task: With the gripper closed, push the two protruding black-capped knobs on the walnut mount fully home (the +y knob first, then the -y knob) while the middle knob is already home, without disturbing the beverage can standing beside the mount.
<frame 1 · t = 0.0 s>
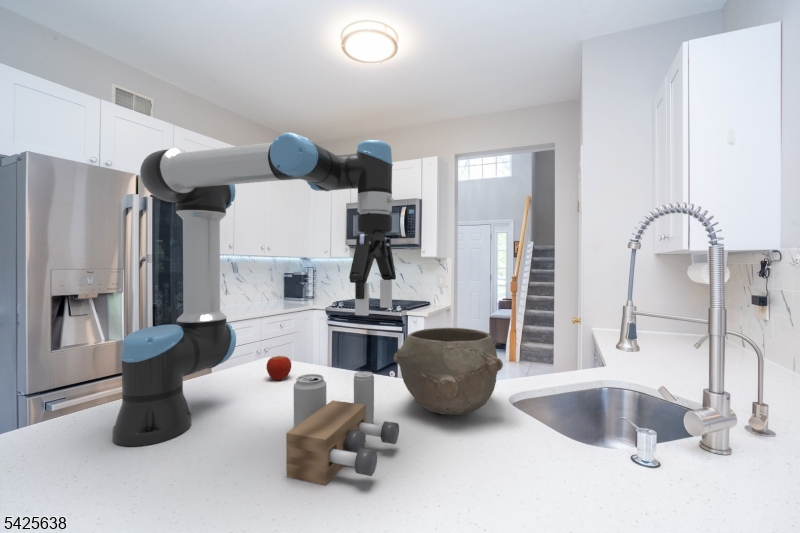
hand: (374, 311, 84), 28 cm above the countertop, fingers open, 13 cm apart
can: (310, 428, 89), on the countertop
bowl: (447, 409, 101), on the countertop
mount: (329, 457, 76), on the countertop
knob b: (335, 438, 75), point 4 cm above the countertop, slide at 0.0 cm
knob c: (371, 429, 79), point 4 cm above the countertop, slide at 5.0 cm
beverage can: (363, 425, 91), on the countertop
apple: (279, 379, 126), on the countertop
knob a: (344, 457, 68), point 4 cm above the countertop, slide at 5.0 cm
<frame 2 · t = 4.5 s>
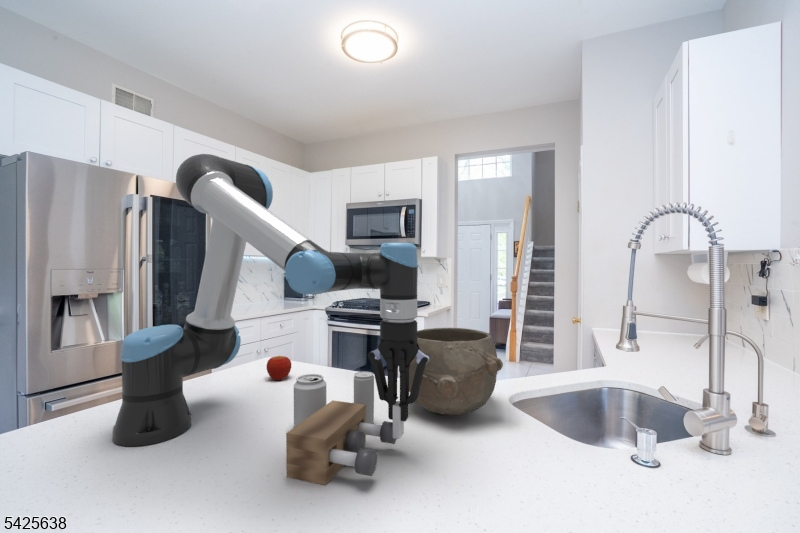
hand: (398, 435, 77), 4 cm above the countertop, fingers closed
knob c: (370, 429, 79), point 4 cm above the countertop, slide at 4.8 cm, touching gripper
everything else where it was.
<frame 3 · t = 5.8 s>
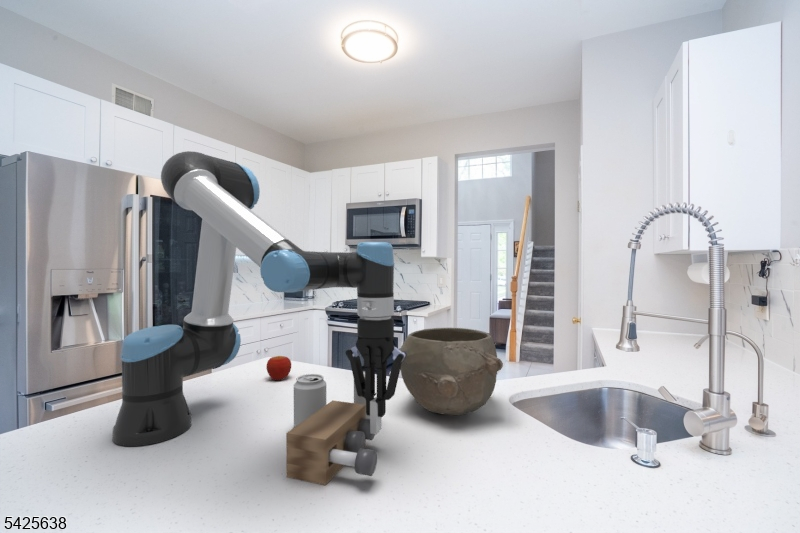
hand: (375, 430, 79), 4 cm above the countertop, fingers closed
knob c: (349, 426, 81), point 4 cm above the countertop, slide at -0.1 cm, touching gripper
everything else where it was.
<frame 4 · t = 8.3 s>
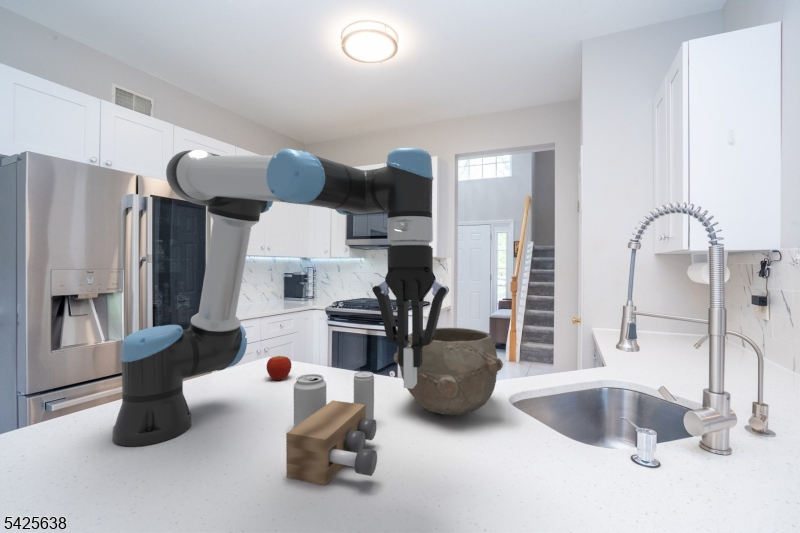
hand: (410, 385, 64), 18 cm above the countertop, fingers closed
knob c: (349, 426, 81), point 4 cm above the countertop, slide at -0.1 cm
everything else where it was.
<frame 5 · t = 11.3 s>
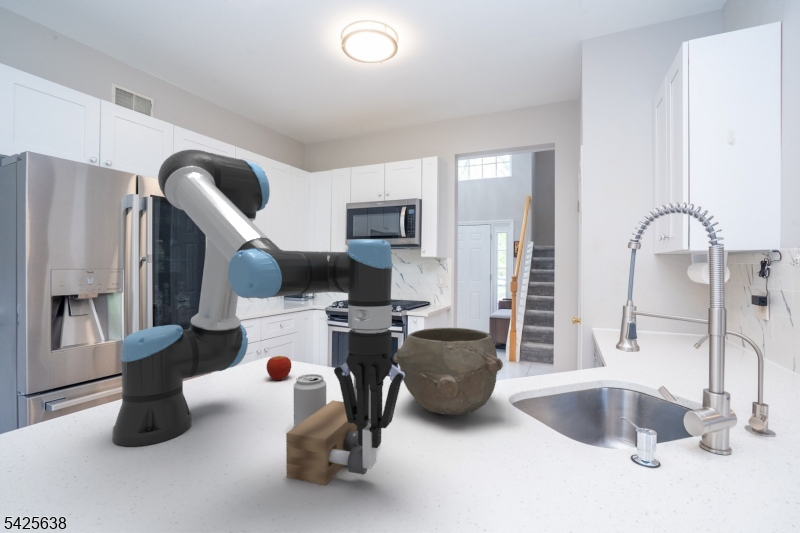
hand: (369, 464, 66), 4 cm above the countertop, fingers closed
knob a: (337, 456, 68), point 4 cm above the countertop, slide at 3.6 cm, touching gripper
everything else where it was.
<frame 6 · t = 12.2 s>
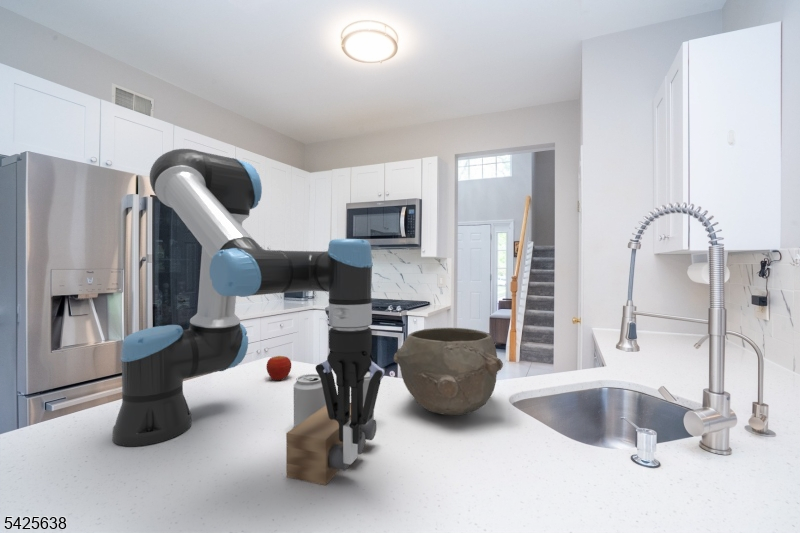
hand: (350, 459, 67), 4 cm above the countertop, fingers closed
knob a: (319, 453, 69), point 4 cm above the countertop, slide at 0.0 cm, touching gripper
everything else where it was.
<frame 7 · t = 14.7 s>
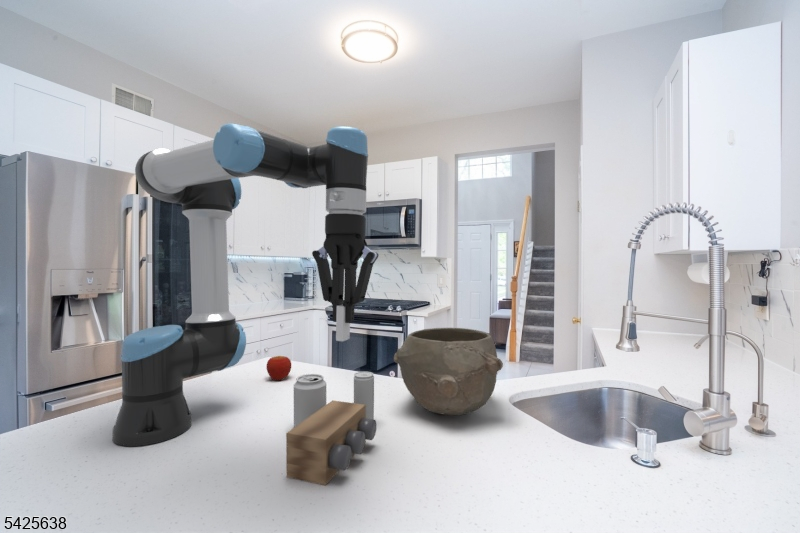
hand: (342, 339, 72), 24 cm above the countertop, fingers closed
knob a: (319, 453, 69), point 4 cm above the countertop, slide at -0.1 cm
everything else where it was.
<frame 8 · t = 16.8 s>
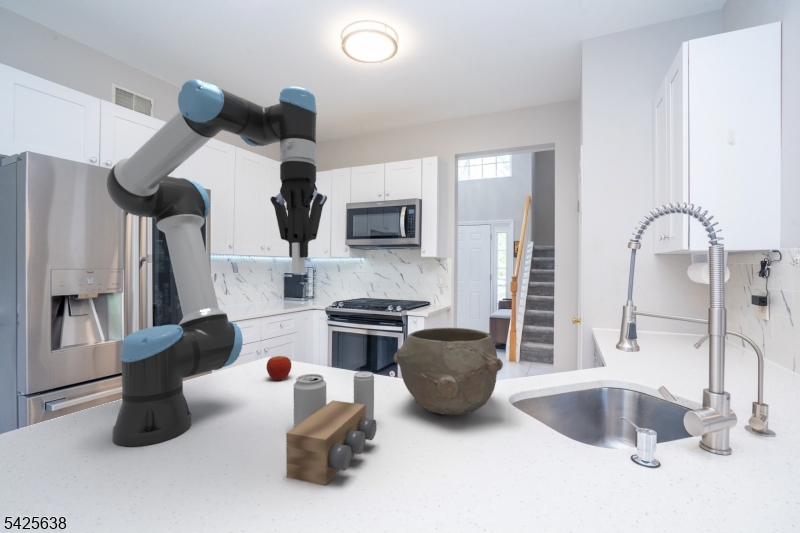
hand: (298, 272, 83), 36 cm above the countertop, fingers closed
nothing on the countertop moved.
at the end: knob c slide at -0.1 cm; knob a slide at -0.1 cm; beverage can tilted 0° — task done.
